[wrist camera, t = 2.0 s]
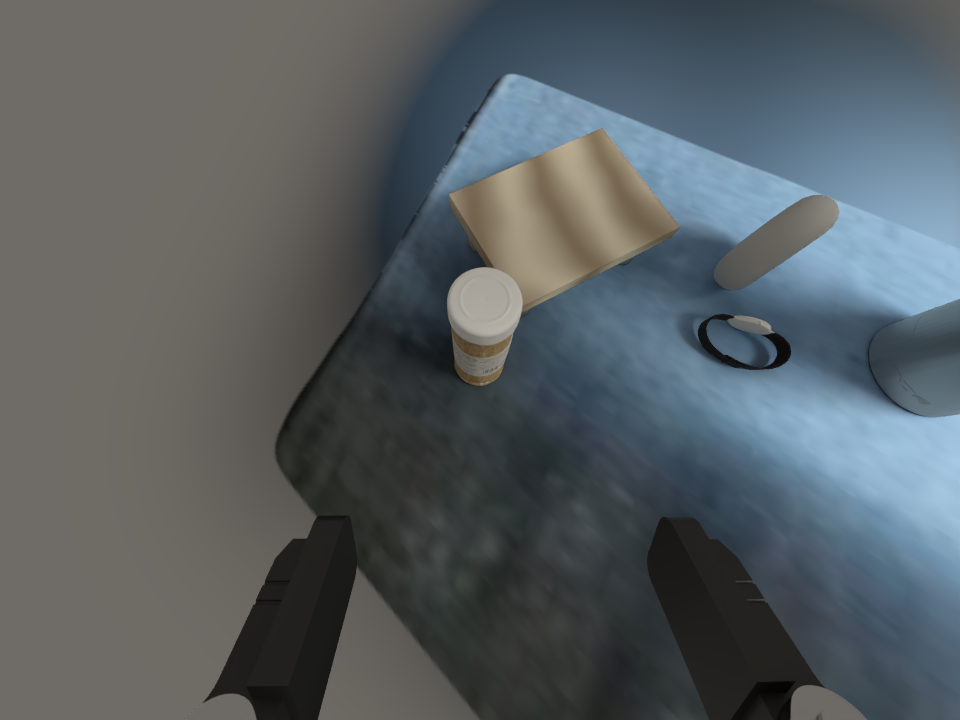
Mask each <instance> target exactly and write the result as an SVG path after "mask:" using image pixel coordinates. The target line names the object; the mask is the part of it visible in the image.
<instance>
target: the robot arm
mask: <svg viewBox="0 0 960 720" xmlns="http://www.w3.org/2000/svg"><path fill="white" fill-rule="evenodd" d="M869 361H870V365H871V369H872V372H873V374H874V376H875V378H876V381H877V382H878V384H879V385H880V386H881V388H882V389H883V391H884V392H885V393H886V394H887V395H888V396H889V397H890V398H891V399H892V400H893V401H895V402H896V403H897V404H899V405H900V406H901V407H903V408H905V409H907V410H909V411H911V412H913V413H916V414H919V415H922V416H928V417H942V416H950V415H958V414H960V299H958V300H956V301H953V302H950V303H947V304H945V305H942V306H939V307H936V308H933V309H931V310H928V311H925V312H922V313H920V314H917V315H914V316H912V317H909V318H906V319H904V320H901V321H898V322H895V323H893V324H890V325H887V326H886V327H884V328H882V329H881V330H879V331H878V333H877V334H876V335H875V336H874V338H873V340H872V342H871V344H870V350H869ZM647 565H648V572H649V576H650V579H651V582H652V584H653V586H654V589H655V591H656V594H657V596H658V598H659V601H660V603H661V606H662V608H663V610H664V613H665V615H666V617H667V620H668V622H669V625H670V627H671V629H672V632H673V634H674V636H675V639H676V641H677V644H678V646H679V648H680V651H681V653H682V655H683V658H684V660H685V663H686V665H687V667H688V670H689V672H690V674H691V677H692V679H693V682H694V684H695V686H696V689H697V691H698V694H699V696H700V698H701V701H702V703H703V705H704V708H705V710H706V713H707V715H708V717H709V720H867V719H866V718H865V717H864V716H863V715H862V714H861V713H860V712H859V711H858V710H857V709H856V708H855V707H854V706H853V705H851V704H850V703H849V702H847V701H846V700H845V699H843V698H842V697H840V696H839V695H837V694H836V693H834V692H832V691H830V690H828V689H825V688H824V686H823V685H822V684H821V683H820V682H819V680H818V679H817V678H816V676H815V675H814V673H813V672H812V670H811V669H810V667H809V666H808V664H807V663H806V661H805V660H804V658H803V657H802V655H801V654H800V652H799V651H798V649H797V647H796V646H795V644H794V643H793V641H792V640H791V638H790V637H789V635H788V634H787V632H786V631H785V629H784V628H783V626H782V625H781V623H780V621H779V620H778V618H777V617H776V615H775V614H774V612H773V611H772V609H771V608H770V606H769V605H768V603H765V601H764V597H763V596H762V594H761V592H760V591H759V589H758V588H757V586H756V585H755V584H753V583H752V579H751V577H750V576H749V574H748V573H747V571H746V570H745V568H744V567H743V565H742V563H741V562H740V560H739V559H738V558H737V557H736V556H735V555H734V554H733V553H732V552H731V551H730V550H729V549H728V548H726V547H725V546H724V545H723V544H722V543H721V542H720V541H719V540H709V538H708V536H707V535H706V533H705V532H704V530H703V528H702V527H701V525H700V524H699V522H698V521H697V520H696V519H695V518H693V517H662V518H661V519H660V521H659V523H658V526H657V529H656V532H655V535H654V538H653V541H652V544H651V546H650V549H649V552H648V557H647ZM356 568H357V552H356V546H355V541H354V535H353V529H352V523H351V518H350V516H318V517H317V518H316V520H315V521H314V523H313V526H312V528H311V531H310V533H309V536H308V538H307V539H293V540H292V541H291V542H290V543H289V544H288V545H287V546H286V547H285V548H284V549H283V551H282V552H281V553H280V554H279V555H278V556H277V557H276V559H275V560H274V563H273V565H272V567H271V569H270V571H269V573H268V575H267V578H266V580H265V584H264V585H263V586H262V588H261V590H260V592H259V594H258V597H257V599H256V604H255V605H253V607H252V609H251V612H250V614H249V616H248V618H247V620H246V622H245V624H244V626H243V628H242V631H241V633H240V635H239V637H238V639H237V641H236V643H235V645H234V648H233V650H232V652H231V654H230V656H229V658H228V661H227V663H226V665H225V667H224V669H223V671H222V673H221V675H220V677H219V680H218V681H217V683H216V685H215V687H214V689H213V690H212V691H211V693H210V694H209V696H208V697H207V698H206V700H205V701H204V702H203V703H202V704H201V705H200V706H199V707H197V708H196V709H195V710H194V711H193V712H191V713H190V714H189V715H188V716H187V717H186V718H185V719H184V720H318V716H319V712H320V709H321V705H322V701H323V697H324V694H325V690H326V686H327V682H328V678H329V674H330V671H331V667H332V663H333V659H334V656H335V652H336V648H337V644H338V640H339V637H340V633H341V629H342V625H343V621H344V618H345V614H346V610H347V606H348V603H349V599H350V595H351V591H352V587H353V584H354V580H355V575H356Z"/></svg>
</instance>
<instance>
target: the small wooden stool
mask: <svg viewBox="0 0 960 720" xmlns="http://www.w3.org/2000/svg"><path fill="white" fill-rule="evenodd" d="M449 206H450V208H451V209H452V211H453V213H454V214H455V216H456V217H457V219H458V221H459V222H460V224H461V225H462V227H463V229H464V230H465V232H466V234H467V235H468V245H469V247H470V248H471V249H472V250H474V251H478V253H479V255H480V256H481V258H482V259H483V261H484V263H485V264H486V266H487V267H488V268H494V269H498V270H500V271H502V272H504V273H506V274H508V275H509V276H510V277H511V278H512V279H513V280H514V281H515V282H516V284H517V285H518V287H519V289H520V291H521V294H522V299H523V306H522V312H521V316H520V317H524V316H525V315H527V313H528V312H529V309H530V308H532V307H534V306H536V305H538V304H540V303H542V302H544V301H546V300H548V299H550V298H552V297H554V296H556V295H558V294H560V293H562V292H564V291H566V290H568V289H570V288H572V287H574V286H576V285H578V284H580V283H582V282H584V281H586V280H588V279H590V278H592V277H594V276H596V275H598V274H600V273H602V272H604V271H606V270H608V269H610V268H612V267H614V266H616V265H618V264H620V265H626V264H628V263H629V262H630V261H631V260H632V258H633V257H634V256H635V255H637V254H639V253H641V252H643V251H645V250H647V249H649V248H651V247H653V246H655V245H657V244H659V243H661V242H663V241H665V240H667V239H669V238H671V237H672V236H673V235H674V234H675V232H676V231H677V230H678V229H679V228H680V226H679V225H678V224H677V223H676V221H675V220H674V219H673V218H672V216H671V215H670V214H669V212H668V211H667V210H666V209H665V207H664V206H663V205H662V204H661V202H660V201H659V200H658V198H657V197H656V196H655V195H654V193H653V192H652V191H651V190H650V188H649V187H648V186H647V184H646V183H645V182H644V181H643V179H642V178H641V177H640V176H639V174H638V173H637V172H636V171H635V169H634V168H633V167H632V165H631V164H630V163H629V162H628V160H627V159H626V158H625V157H624V155H623V154H622V153H621V151H620V150H619V149H618V148H617V146H616V145H615V144H614V143H613V141H612V140H611V139H610V137H609V136H608V135H607V134H606V132H605V131H604V130H603V129H602V128H601V129H599V130H597V131H594V132H592V133H590V134H587V135H585V136H583V137H580V138H578V139H576V140H573V141H571V142H569V143H567V144H564V145H562V146H560V147H557V148H555V149H553V150H550V151H548V152H546V153H543V154H541V155H539V156H536V157H534V158H532V159H529V160H527V161H525V162H523V163H520V164H518V165H516V166H513V167H511V168H509V169H506V170H504V171H502V172H499V173H497V174H495V175H492V176H490V177H488V178H485V179H483V180H481V181H479V182H476V183H474V184H472V185H469V186H467V187H465V188H462V189H460V190H458V191H455V192H453V193H451V194H449Z"/></svg>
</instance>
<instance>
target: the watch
mask: <svg viewBox="0 0 960 720" xmlns="http://www.w3.org/2000/svg"><path fill="white" fill-rule="evenodd" d="M711 319H720V320H725V321H728V323H729V324H730V325H731V326H733V327H735V328H737V329H739V330H742V331H745V332H748V333H753V334H761V335H763V336H765V337H766V338H768V339H769V340H770V341H771V342H773V344H774V345H775V347H776V349H777V356H776V359H775V361H774V362H773V363H772V364H770V365H768V366H766V367H762V368H758V367H753V366H750V365H747V364H744V363H742V362H739V361H737V360H735V359H733V358H732V357H730V356H728V355H723V354H722V353H721V352H719V351H718V350H717V349H716V348H715V347H714V346H713V345H712V344H711V342H710V341H709V339H708V336H707V331H706V327H707V324H708V322H709V321H710V320H711ZM698 337H699V340H700V343H701V344H702V346H703V347H704V348H705V349H706V350H707V351H708V352H709V353H710V354H712V355H713V356H715V357H716V358H717V359H719V360H721V361H722V362H724V363H726V364H728V365H730V366H733V367H735V368H740V367H741V368H745V369H749V370H763V369H773V368H776V367H779V366H781V365H783V364H784V363H786V362H787V361H788V359H789V358H790V355H791V348H790V345H789V343H788V342H787V341H786V340H785V339H784V338H783V337H782V336H780V335H779V334H777V333H775V332H773V331H771V326H770V324H768V323H767V322H765V321H763V320H761V319H758V318H754V317H749V316H743V315H738V316H731V315H726V314H719V315H715V316H713V317H710V318H708V319H706V320H705V321H703V322H702V323H701V325H700V326H699V329H698Z"/></svg>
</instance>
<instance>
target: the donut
mask: <svg viewBox="0 0 960 720" xmlns="http://www.w3.org/2000/svg"><path fill="white" fill-rule="evenodd" d="M838 215H839V209H838V205H837V204H836V202H835V201H834V200H833V199H831V198H830V197H827V196H823V195H813V196H809V197H806V198H803V199H801V200H799V201H798V202H796V203H794V204H793V205H791V206H790V207H788V208H787V209H785V210H784V211H782V212H781V213H779V214H778V215H776V216H775V217H774V218H772V219H771V220H769V221H768V222H767V223H765V224H764V225H763V226H761V227H760V228H759V229H757V230H756V231H755V232H753V233H752V234H751V235H749V236H748V237H747V238H746V239H744V240H743V241H742V242H740V243H739V244H738V245H737V246H735V247H734V248H733V249H732V250H731V251H729V252H728V253H727V254H726V255H725V256H724V257H723V258H722V259H721V260H720V261H719V262H718V263H717V265H716V267H715V269H714V278H715V280H716V282H717V284H718V285H720V286H721V287H722V288H725V289H727V290H738V289H742V288H744V287H746V286H748V285H750V284H751V283H753V282H754V281H756V280H757V279H759V278H760V277H762V276H763V275H765V274H766V273H768V272H769V271H771V270H772V269H774V268H775V267H777V266H778V265H780V264H781V263H783V262H784V261H786V260H787V259H789V258H790V257H791V256H793V255H794V254H796V253H797V252H799V251H800V250H802V249H803V248H805V247H806V246H808V245H809V244H810V243H812V242H813V241H815V240H816V239H818V238H819V237H820V236H822V235H823V234H825V233H826V232H827V231H828V230H829V229H830V228H832V227H833V226H834V224H835V222H836V221H837V219H838Z"/></svg>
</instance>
